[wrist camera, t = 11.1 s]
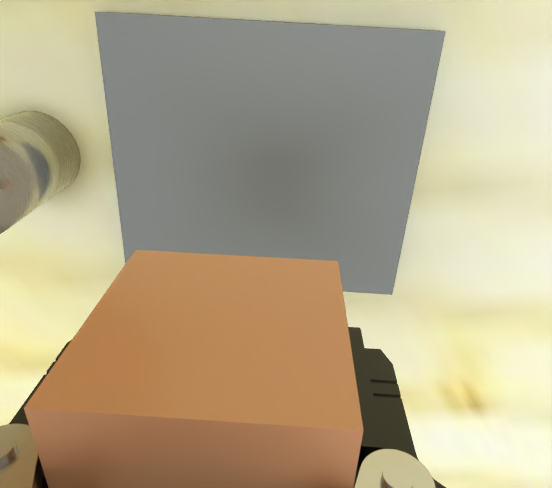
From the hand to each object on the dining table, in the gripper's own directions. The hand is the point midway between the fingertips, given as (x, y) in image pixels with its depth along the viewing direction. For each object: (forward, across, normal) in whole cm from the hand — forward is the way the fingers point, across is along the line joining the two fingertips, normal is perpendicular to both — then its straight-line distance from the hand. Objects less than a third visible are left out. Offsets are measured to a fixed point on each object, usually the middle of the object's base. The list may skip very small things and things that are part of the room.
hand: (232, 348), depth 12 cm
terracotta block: (0, 0, 0) cm, 0 cm away
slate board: (+17, 0, 0) cm, 17 cm away
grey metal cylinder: (+17, +14, 0) cm, 23 cm away
